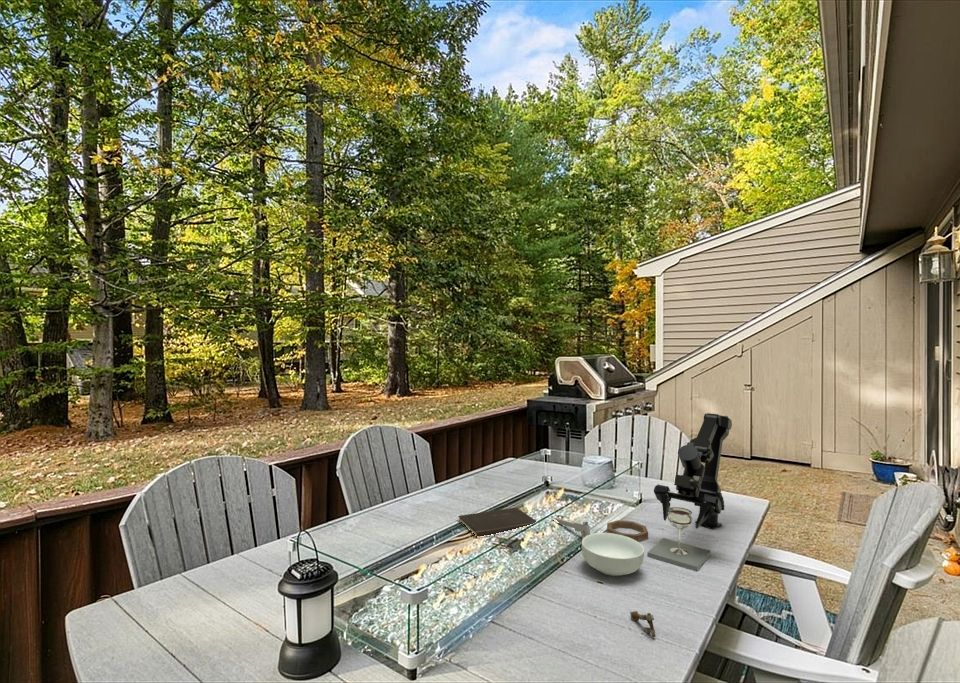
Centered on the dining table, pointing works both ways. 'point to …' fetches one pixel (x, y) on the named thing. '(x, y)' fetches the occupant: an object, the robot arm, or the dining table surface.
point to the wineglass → (679, 524)
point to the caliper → (576, 526)
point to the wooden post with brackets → (644, 617)
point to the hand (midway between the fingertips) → (680, 523)
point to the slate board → (689, 560)
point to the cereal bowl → (612, 553)
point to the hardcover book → (496, 521)
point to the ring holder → (631, 525)
